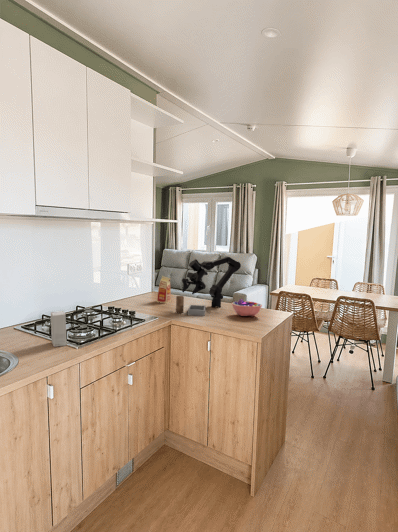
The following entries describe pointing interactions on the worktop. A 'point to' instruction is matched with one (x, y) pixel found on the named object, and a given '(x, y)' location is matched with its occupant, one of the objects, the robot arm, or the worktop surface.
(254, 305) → the cell model
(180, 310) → the walnut cylinder
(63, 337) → the skincare box
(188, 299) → the worktop surface
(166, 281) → the milk carton
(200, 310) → the box
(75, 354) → the worktop surface
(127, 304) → the worktop surface
